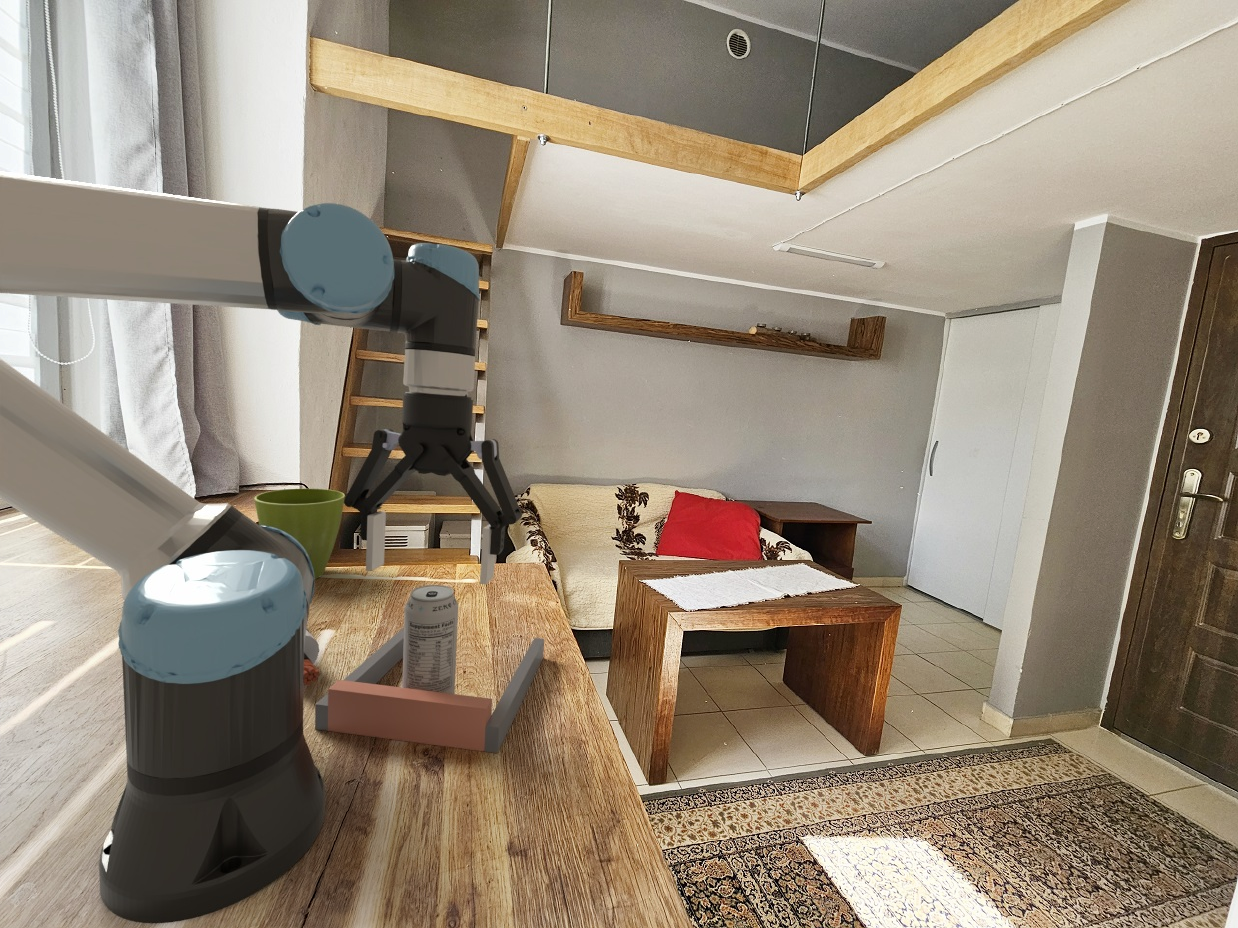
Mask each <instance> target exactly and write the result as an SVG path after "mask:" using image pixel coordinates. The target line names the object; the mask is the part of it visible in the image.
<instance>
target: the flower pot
mask: <svg viewBox="0 0 1238 928" xmlns="http://www.w3.org/2000/svg"><path fill="white" fill-rule="evenodd" d="M345 498H346V495H345V493H343V492H341V491H338V490H332V489H327V488H288V489H277V490H271V491H270V490H269V491H266V492H262V493H259V494H257V495H255V496H254V505H255V509H256V516H257V521H258V525H264V526H269V527H273V528H277V529H279V530H282V531H284V532H286V533H288V534H289V535H291V536H292V537H293V538H295V539H296V540H297V541H298V542H299V543H300V544H301V545H302V546H303V548H304V549H305V550H306V552H307V554H308V556H309V558H310V561H311V564H312V567H313V570H314V578H315V580H316V579H318V578H320V577H322V576H323V575H324V572H325V570H326V568H327V566H328V562H329V561H330V558H331V555H332V552H333V550H334V547H335V543H336V540H337V536H338V533H339V529H340V526H341V525H340V524H341V520H342V515H343V511H344V510H343V509H344V506H345V504H344V499H345Z"/></svg>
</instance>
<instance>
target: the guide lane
mask: <svg viewBox="0 0 1238 928" xmlns="http://www.w3.org/2000/svg"><path fill="white" fill-rule="evenodd" d="M403 648H404V627H403V628H401V629H400V630H399V631H398V632H397V633H395V634H394V635H393V636H392V637H391V638H389V640H387V641H386V642H385V643H384V644H383V645H382V646H380V648H378V649H377V650H376V651H375V652H374V653H372V654H371V655H370V656H369V657H367V659H365V660H364V661H363V662H361V664H360V665H358V667H356V668H355V669H353V671H352V672H351V673H349V674H348V675H347V676H346V677H345V678H344V679H338V680H337V681H336V682H335V683H333V684H332V685H331V686H330V687H329V688H328V690H327V694H325V695H324V696H323V697H322V698H321V699H320V700H318V701H317V702H316V703H314V704H315V706H314V730H319V731H328V732H334V733H341V734H342V733H343V734H350V735H357V736H363V737H372V738H373V737H374V738H380V739H387V740H395V741H403V742H408V743H409V742H411V743H417V744H426V745H434V746H440V747H446V748H447V747H448V748H455V749H463V750H471V751H479V752H483V753H484V752H486V753H493V754H498V753H499V751H500V749H501V747H502V745H503V743H504V741H505V739H506V736H508V735H507V734H508V732H509V731H510V728H511V726H512V723H513V722H514V720H515V718H516V716H517V714H518V711H519V710H520V707H521V705H522V703H523V701H524V699H525V697H526V695H527V693H528V691H529V689H530V686H531V684H532V682H533V681H534V678H535V676H536V674H537V673H538V670H539V668H540V665H541V663H542V661H543V660H544V651H545V650H544V649H545V638H539V637H534V638H533V639H532V642H531V643H530V645H529V647H528V648H527V651H526V652H525V654H524V655H523V658H522V660H521V661H520V663H519V665H518V667H517V668H516V670H515V672H514V674H513V675H512V677H511V680H510V681H509V683H508V685H507V686H506V688H505V690H504V692H503V694H502V695H501V697H500V699H499V701H498V702H497V705H496V706H495V708H494V710H493V698H488V697H479V696H474V695H467V694H466V695H464V694H457V693H455V694H450V693H442V692H434V691H426V690H417V689H409V688H402V687H400V686H392V685H384V684H377V683H379V681H381V679H383V678H384V676H385V675H387V674H388V672H390V670H392V669H393V668H394V667H395V666H396V665H397V664H398V663H399V662H400V661H401V660H403ZM492 710H493V712H492Z"/></svg>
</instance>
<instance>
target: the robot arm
mask: <svg viewBox="0 0 1238 928" xmlns="http://www.w3.org/2000/svg"><path fill="white" fill-rule="evenodd" d="M479 268H480V265H479V263H478V261H477V258H476V257H475V256H474V255H473V254H472V253H470V252H468V251H466V250H465V249H462V248H458V247H456V246H451V245H447V244H442V243H439V244H438V243H437V244H436V243H435V244H434V243H432V242H420V243H414V244H412V245H411V246H410V248H409V249H408V255H407V257H406V259H405V260H404V259H394V257H393V251H392V248H391V246H390V243H389V241H388V239H387V236H386V235H385V234H384V232H383V230H381V227H380V226H379V225H378V224H377V223H375V222H374V221H373V220H372V219H371V218H370V217H368V216H367V215H366V214H364V213H362V212H361V211H360V210H357V209H356V208H354V207H351V206H349V205H344V204H340V203H334V202H323V203H318V204H313V205H309V206H308V207H306V208H303V209H302V210H300V211H296V210H287V209H280V208H267V207H260V206H256V205H255V206H254V205H246V204H241V203H240V204H239V203H233V202H228V201H220V200H211V199H204V198H203V199H202V198H196V197H189V196H182V195H176V194H175V195H173V194H169V193H159V192H152V191H144V190H139V189H137V190H136V189H133V188H132V189H131V188H125V187H124V188H123V187H117V186H110V185H109V186H108V185H103V184H101V185H100V184H94V183H93V184H92V183H86V182H79V181H73V180H72V181H71V180H64V179H58V178H57V179H56V178H52V177H51V178H50V177H43V176H35V175H27V174H23V173H22V174H20V173H15V172H14V173H13V172H5V171H0V294H12V295H27V296H42V297H46V296H47V297H57V298H58V297H62V298H74V299H75V298H77V299H78V298H79V299H90V300H91V299H94V300H95V299H96V300H110V301H111V300H112V301H113V300H114V301H125V302H126V301H127V302H128V301H129V302H140V303H141V302H142V303H144V302H145V303H157V304H158V303H160V304H162V303H163V304H176V305H178V304H179V305H190V306H191V305H192V306H194V305H195V306H209V307H212V306H213V307H223V308H224V307H225V308H226V307H227V308H241V309H261V310H273V311H277V312H278V314H279V315H280V316H282V317H283V318H285V319H288V320H293V321H300V322H306V323H309V324H313V325H315V326H321V325H328V326H329V325H330V326H335V327H336V326H337V327H343V328H353V329H363V330H372V331H380V332H381V331H385V332H389V333H392V334H393V333H394V334H397V333H399V334H404V337H405V343H404V364H403V381H402V383H403V386H405V387H408V391H405V393H404V394H402V413H401V414H402V415H401V421H402V430H401V431H400V433H398V432H395V431H394V430H392V429H391V428H389V429H388V428H385V429H379V430H376V431H374V433H373V439H372V444H371V445H372V446H371V449H370V452H369V453H368V455H367V457H366V459H365V460H364V463H363V465H362V467H361V468H360V470H359V472H358V474H357V476H356V477H355V479H354V481H353V483H352V484H351V487H350V489H349V490H348V492H347V494H346V495H345V498H344V506H345V507H348V508H353V509H356V510H357V511H358V512H359V513H360V533H359V536H360V538H361V540H362V541H365V542H366V547H365V548H366V551H365V552H366V554H365V555H366V556H365V558H366V559H365V571H366V572H373V571H375V570H376V569H378V568H380V567H382V566H384V565H385V549H386V548H385V547H386V522H387V521H386V520H387V519H386V518H387V514H386V513H387V511H384V510H380V509H382V506H383V505H384V504H385V503H386V502H387V501H388V500H389V498H391V497H392V495H393V494H394V493H395V492H396V491H397V490H398V489H399V488H401V486H402V485H403V484H404V483H405V482H406V480H407V479H408V478H409V477H410V476H411V475H412V474H413V473H415V472H418V474H422V475H426V474H434V475H437V476H440V477H441V476H443V477H446V476H449V475H451V476H452V477H453V479H455V481H457V482H458V483H459V484H460V485H461V487H462V488H463V489H464V491H465V492H466V494H467V495H468V497H470V499H471V500H472V502H473V503H474V504H475V506H476V508H477V509H478V510H479V512H480V513H481V514H482V516H483V518H484V519H485V520H486V521H487V523H488V524H487V525H486V526H484V527H483V528H482V540H481V541H482V542H481V543H482V544H481V557H480V560H481V561H480V575H479V585H488V583H490V581H491V580H492V579H493V578H495V566H496V565H495V563H496V556H499V555H500V554H501V553H502V552H503V550H504V547H505V534H506V533H505V532H506V526H509V525H515V524H516V523H517V522H518V521H519V520H521V519H522V517H523V513H522V511H521V508H520V506H519V503H518V501H517V498H516V496H515V494H514V491H513V489H512V487H511V483H510V481H509V479H508V477H507V474H506V471H505V470H504V467H503V465H502V462H501V459H500V450H499V449H500V448H499V447H500V445H499V441H498V440H497V439H495V438H491V439H487V440H486V439H485V440H474V438H473V437H472V429H473V428H472V427H473V410H474V399H472V396H469V392H470V393H471V392H472V391H474V389H475V388H474V387H475V371H476V370H475V368H476V344H477V331H478V329H477V328H478V313H479V301H480V300H481V296H480V269H479ZM398 446H399V448H400V449H401V450H402V452H403V454H404V456H403V457H402V458H401V459H400V460H399V461H398V463H396V465H395V466H394V468H393V469H392V471H391V472H390V473H388V475H387V476H386V477H385V478H384V479H383V480H382V481H381V482H380V484H379V485H378V486H377V487H376V488H375V489H374V490H372V489H373V487H374V485H375V483H376V482H377V479H378V478H379V475H380V474H381V472H382V471H383V469H384V467H385V465H386V463H387V461H388V460H389V458H390V456H391V454H392V451H393V450H395V449H396V448H397V447H398ZM473 452H475V453H476V455H477V458H478V459H479V460H481V461H482V465H483V468H484V470H485V473H486V475H487V477H488V480H489V482H490V485H491V487H492V490H493V493H494V495H495V497H496V499H497V501H495V500H496V499H494V498H493V496H492V494H491V493H490V492H489V491H488V489H487V488H486V487H485V485H484V484H483V482H482V481H481V479H480V478H479V477H478V475H477V474H476V472H475V471H476V470H475V469H474V467H473V466H472V464H471V463H470V462H469V460H468V459H469V457H470V456H471V454H472V453H473ZM371 491H372V492H371ZM0 500H1V501H2V502H4V503H6V504H7V505H9V506H11V507H12V508H14V509H15V510H17V511H19V512H20V513H22V515H23V514H24V515H25V516H27V517H29V518H30V519H31V520H33V521H34V522H37V523H38V524H40V525H41V526H43V527H45V528H46V529H48V530H49V531H51V532H53V533H54V534H56V535H57V536H59V537H61V538H62V539H64V540H66V541H67V542H69V543H70V544H72V545H73V546H75V547H76V548H78V549H80V550H82V551H84V552H85V553H86V554H88V555H90V556H91V557H93V558H94V559H96V560H98V561H99V562H101V563H102V564H104V565H106V566H107V567H109V568H111V569H112V570H114V571H115V572H116V573H118V575H119V577H120V580H121V581H120V583H121V598H122V599H123V605H122V609H121V620H120V622H119V627H118V631H117V633H118V649H120V650H119V651H120V654H121V662H122V663H121V666H122V682H123V683H122V686H123V708H124V727H125V729H124V731H125V750H126V751H125V753H126V772H127V773H126V774H127V777H126V778H127V782H126V783H125V784H126V785H125V787H124V790H123V792H122V795H121V797H120V800H119V802H118V804H117V808H116V811H115V814H114V815H113V816H114V817H113V819H112V824H111V828H110V830H109V832H108V833H107V836H106V838H105V840H104V843H103V845H102V848H101V850H100V851H101V852H100V855H99V862H98V869H99V871H98V875H99V876H98V877H99V892H100V898H101V900H102V902H103V904H104V906H105V907H106V908H107V910H109V911H110V912H111V913H112V914H114V915H115V916H117V917H119V918H121V919H124V920H126V921H130V922H136V923H142V924H166V923H167V924H168V923H170V924H171V923H176V922H182V921H183V922H184V921H187V920H188V921H189V920H191V919H196V918H199V917H202V916H206V915H210V914H212V913H215V912H219V911H221V910H223V909H226V908H228V907H231V906H232V905H235V904H237V903H239V902H241V901H244V900H245V899H247V898H249V897H251V896H252V895H256V893H258V892H260V891H261V890H263V889H264V888H266V887H267V886H269V885H271V884H272V883H274V882H275V881H277V879H279V878H281V876H283V875H284V874H285V873H287V872H288V871H289V870H290V869H291V868H293V866H294V865H295V864H297V863H298V862H299V861H300V860H301V858H303V857H304V855H305V854H306V853H307V852H308V851H309V849H310V848H311V847H312V845H313V844H314V842H315V841H316V840H317V838H318V836H319V834H320V832H321V830H322V827H323V824H324V820H325V815H326V786H325V782H324V779H323V776H322V773H321V772H320V770H319V769H318V767H317V766H316V764H315V762H314V759H313V756H312V754H311V750H310V748H309V745H308V743H307V741H306V738H305V735H304V684H303V676H304V643H305V635H306V628H307V627H308V620H309V615H310V614H309V613H310V607H311V604H312V601H313V597H314V594H315V593H314V592H315V586H316V583H315V580H316V579H315V578H314V570H313V567H312V564H311V561H310V558H309V556H308V554H307V552H306V550H305V549H304V548H303V546H302V545H301V544H300V543H299V542H298V541H297V540H296V539H295V538H293V537H292V536H291V535H289V534H288V533H286V532H284V531H282V530H279V529H277V528H273V527H269V526H264V525H259V523H257V522H256V521H254V520H252V519H251V518H250V517H248V516H247V515H245V514H244V513H243V512H241V511H240V510H239V509H238V508H236V507H234V506H233V505H231V504H230V503H228V502H223V503H204V502H199V501H198V500H196V499H195V498H194V497H192V496H191V494H189V493H187V492H186V491H184V490H183V489H182V488H180V487H179V486H177V485H176V484H175V483H174V482H172V481H171V480H169V479H168V478H167V477H165V476H163V475H162V474H161V473H159V472H158V471H157V470H156V469H154V468H153V467H151V466H150V465H148V464H147V463H145V462H144V461H143V460H142V459H140V458H139V457H137V456H136V455H135V454H133V453H132V452H130V451H129V450H128V449H126V448H125V447H124V446H122V445H120V443H118V442H116V441H115V440H114V439H113V438H111V437H110V436H108V435H107V434H106V433H104V432H103V431H102V430H100V429H98V428H97V427H96V426H95V425H93V424H92V423H90V422H88V420H86V419H85V418H84V417H82V416H81V415H79V414H78V413H76V412H75V411H73V410H72V409H71V408H69V407H68V406H67V405H65V404H64V403H62V402H61V401H60V400H58V399H57V398H56V397H55V396H53V395H52V394H50V393H49V392H47V390H45V389H43V388H42V387H40V386H39V385H38V384H36V383H35V382H34V381H32V380H31V379H29V378H28V377H27V376H25V375H24V374H23V373H21V372H19V371H18V370H17V369H15V368H14V367H13V366H12V365H10V364H8V363H7V362H6V361H4V360H3V359H1V358H0ZM497 502H498V503H497ZM378 510H379V511H378Z"/></svg>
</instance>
